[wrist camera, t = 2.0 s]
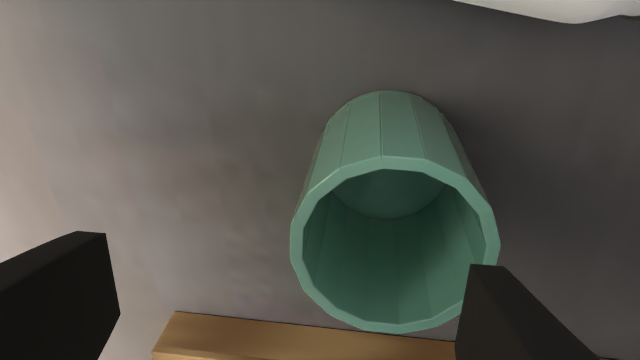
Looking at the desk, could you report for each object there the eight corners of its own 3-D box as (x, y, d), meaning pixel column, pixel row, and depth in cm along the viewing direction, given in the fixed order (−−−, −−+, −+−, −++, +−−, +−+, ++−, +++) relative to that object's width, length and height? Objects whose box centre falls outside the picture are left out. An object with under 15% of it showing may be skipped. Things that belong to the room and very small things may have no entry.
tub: (470, 95, 17) (520, 166, 11) (446, 225, 19) (477, 343, 13) (320, 84, 17) (291, 148, 11) (314, 213, 19) (287, 322, 14)
